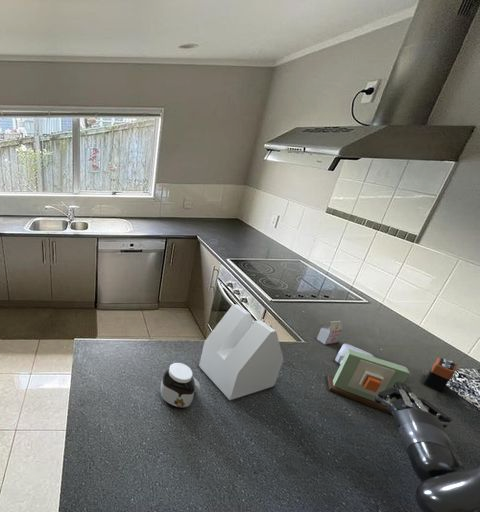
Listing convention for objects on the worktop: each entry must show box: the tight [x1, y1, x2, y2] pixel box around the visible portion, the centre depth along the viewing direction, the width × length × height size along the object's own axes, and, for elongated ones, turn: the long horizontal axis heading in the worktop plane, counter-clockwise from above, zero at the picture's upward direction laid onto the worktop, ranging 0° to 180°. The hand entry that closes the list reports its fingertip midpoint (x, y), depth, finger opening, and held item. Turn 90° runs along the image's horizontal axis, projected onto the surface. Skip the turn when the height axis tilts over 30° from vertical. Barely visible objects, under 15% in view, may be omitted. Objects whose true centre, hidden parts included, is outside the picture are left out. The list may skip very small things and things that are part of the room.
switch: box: [364, 376, 381, 392], centre depth 87 cm, size 3×2×4 cm
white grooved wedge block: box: [198, 303, 285, 401], centre depth 95 cm, size 19×15×25 cm
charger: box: [334, 343, 375, 366], centre depth 105 cm, size 5×9×15 cm
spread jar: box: [160, 362, 201, 409], centre depth 89 cm, size 12×11×12 cm
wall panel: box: [326, 349, 411, 415], centre depth 91 cm, size 16×8×15 cm, turn 57°
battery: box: [423, 357, 458, 392], centre depth 98 cm, size 4×7×10 cm, turn 124°
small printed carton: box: [316, 320, 343, 346], centre depth 118 cm, size 4×7×10 cm, turn 103°
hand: (399, 384), depth 73 cm, fingers closed
